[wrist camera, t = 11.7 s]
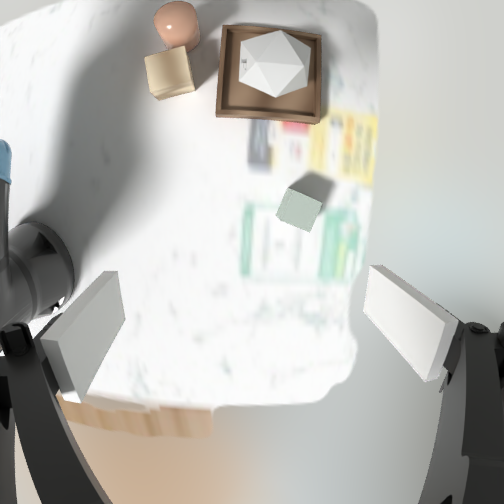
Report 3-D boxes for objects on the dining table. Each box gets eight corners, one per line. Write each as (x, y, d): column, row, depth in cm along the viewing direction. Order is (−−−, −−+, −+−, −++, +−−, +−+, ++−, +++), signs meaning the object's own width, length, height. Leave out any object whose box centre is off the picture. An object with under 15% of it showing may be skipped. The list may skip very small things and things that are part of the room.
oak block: (159, 100, 34) (149, 92, 30) (153, 68, 33) (144, 57, 28) (195, 90, 34) (191, 80, 30) (189, 59, 33) (184, 45, 28)
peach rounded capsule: (162, 54, 32) (150, 34, 26) (166, 25, 31) (156, 2, 24) (198, 52, 33) (193, 32, 26) (202, 23, 31) (198, 0, 25)
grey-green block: (275, 215, 40) (280, 220, 36) (287, 187, 39) (293, 190, 35) (302, 226, 41) (309, 232, 37) (313, 199, 40) (322, 202, 36)
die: (262, 35, 32) (222, 27, 25) (324, 39, 29) (298, 28, 22) (258, 89, 37) (219, 94, 30) (318, 98, 34) (292, 103, 27)
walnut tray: (216, 117, 36) (215, 114, 33) (222, 32, 32) (222, 24, 30) (314, 124, 37) (319, 122, 34) (316, 41, 33) (321, 35, 31)
